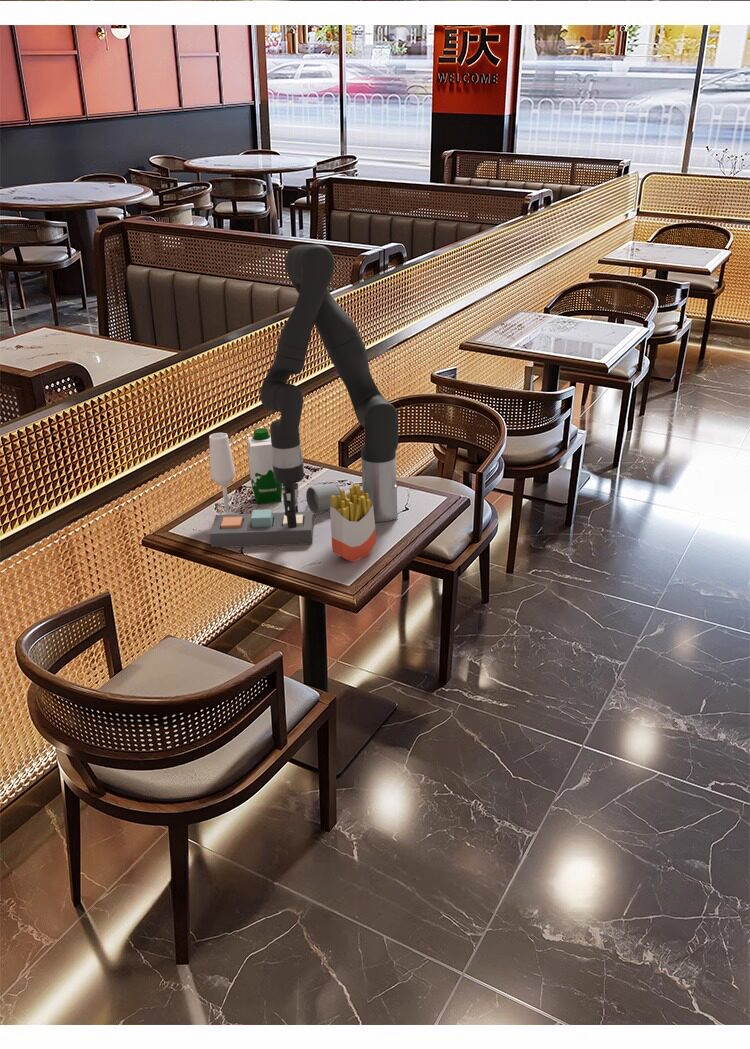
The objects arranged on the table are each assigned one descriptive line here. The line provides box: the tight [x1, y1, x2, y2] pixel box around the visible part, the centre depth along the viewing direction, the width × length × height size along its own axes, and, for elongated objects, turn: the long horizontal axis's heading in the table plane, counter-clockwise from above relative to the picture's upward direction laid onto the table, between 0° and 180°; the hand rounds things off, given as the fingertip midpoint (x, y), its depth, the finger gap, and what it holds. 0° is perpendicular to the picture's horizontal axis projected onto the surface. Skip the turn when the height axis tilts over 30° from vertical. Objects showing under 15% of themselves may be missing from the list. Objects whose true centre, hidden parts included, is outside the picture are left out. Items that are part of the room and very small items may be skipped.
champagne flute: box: [209, 432, 238, 515], centre depth 232 cm, size 7×7×24 cm
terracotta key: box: [221, 517, 243, 529], centre depth 225 cm, size 5×5×3 cm
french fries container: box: [329, 483, 377, 563], centre depth 211 cm, size 5×11×18 cm, turn 133°
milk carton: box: [247, 427, 283, 505], centre depth 244 cm, size 9×9×20 cm
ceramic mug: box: [305, 483, 342, 515], centre depth 240 cm, size 11×8×8 cm
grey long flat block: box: [209, 510, 315, 548], centre depth 226 cm, size 26×11×4 cm, turn 92°
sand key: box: [283, 515, 304, 526], centre depth 225 cm, size 5×5×3 cm
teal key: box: [251, 508, 274, 528], centre depth 224 cm, size 5×5×3 cm
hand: (293, 520), depth 219 cm, fingers open, 8 cm apart
